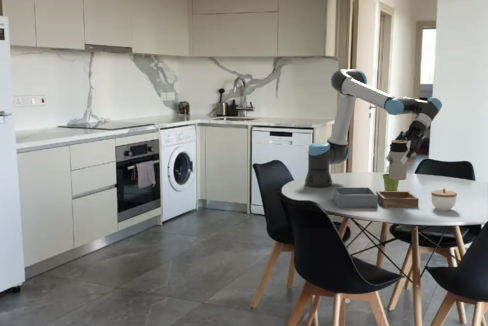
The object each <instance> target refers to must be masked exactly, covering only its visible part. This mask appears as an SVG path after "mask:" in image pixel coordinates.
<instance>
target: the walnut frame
mask: <svg viewBox="0 0 488 326" xmlns="http://www.w3.org/2000/svg"><path fill="white" fill-rule="evenodd" d="M375 193H376V194H377V195H378V204H380V206H381V207H382V208H419V200H420V199H419V197H417V196H416V195H415V194H413V193H411V192H410V191H409V190H408V191H404V190H403V191H402V190H401V191H400V190H399V191H398V190H397V191H385V190H384V191H383V190H380V191H378V190H377V191H375Z"/></svg>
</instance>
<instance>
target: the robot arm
mask: <svg viewBox="0 0 488 326" xmlns="http://www.w3.org/2000/svg"><path fill="white" fill-rule="evenodd" d="M367 82H368V80H367V76H366V74H365V73H364V72H363V71H362V70H360V69H359V70H358V69H339V70H336V71H334V73H333V74H332V76H331V78H330V83H331V87H332V88H333V89H334V90H335V91H336V92H338V94H339V95H340V96H339V100H338V105H337V109H336V113H335V117H334V121H333V125H332V126H333V127H332V130H331V135H330V137H327V139H326V141H319V142H317V141H316V142H313V143H311V144H309V146H308V151H307V153H308V158H307V159H308V160H307V163H308V165H307V166H308V167H307V168H308V169H307V174H306V176H305V179H304V185H305V186H306V187H311V188H328V187H332V186H333V180H332V177H331V172H330V165H339V164H341V163H344V162H345V161H347V160H348V158H349V156H350V148H349V146H348V144H349V143H348V141H347V137H348V132H349V128H350V124H351V121H352V120H351V119H352V116H353V112H354V108H355V104H356V100H357V99H359V100H362V101H364V102H367V103H368V104H371V105H374V106H375V107H377V108H380V109H382V110H385V112H387V114H388V115H391V116H398V115H399V116H400V115H410V114H411V115H416V116H415V118H414V119H413V120H412V122H411V123H410V124H409V127H408V130H407V131H403V130H401V131H400V133H399V134H398V136H396V138H394V140H405V141H408V142H409V141H410V144H409V148H408V150H407V151H406V153H405V154H404V155H403V157H402V158H401V160H400V161H401V162H402V164H405V162H406V161H407V162H408V160H409V159H411V156H412V155H413V154H414V153H415V154H417V153H419V151H420V148H421V146H422V144H423V142H424V141H425V139H427V137H426V135H425V133H426V131H427V129H428V128H429V126H430V125H431V124H432V122H433V121H434V119H435V118H436V116H437V115H438V114H439V113H440V111H441V109H442V107H443V104H442V102H441V100H440V99H438V97H429V98H428V99H427V100H422V99H418V98H413V97H409V96H402V98H398V97H397V96H395V95H394V96H393V95H391V94H389V93H386V92H384V91H382V90H379V89H377V88H374V87H373V86H370V85H368V83H367ZM391 145H392V142H390V144H389V148H390V147H391ZM385 160H387V162H388V163H389V162H390V150H389V152H388V154H387V155H386V157H385Z"/></svg>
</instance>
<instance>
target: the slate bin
mask: <svg viewBox="0 0 488 326" xmlns="http://www.w3.org/2000/svg"><path fill="white" fill-rule="evenodd" d="M332 200H333V202H334V204H335V206H336V207H337V209H378V206H379V205H378V204H379V202H378V195H377V194H376V191H374V190H373V189H372V188H371V187H369V186H363V187H361V186H358V187H355V186H354V187H353V186H352V187H351V186H347V187H345V186H343V187H341V186H338V187H337V186H336V187H335V186H334V187H332Z"/></svg>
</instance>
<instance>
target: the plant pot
mask: <svg viewBox="0 0 488 326" xmlns="http://www.w3.org/2000/svg"><path fill="white" fill-rule="evenodd" d="M381 176H382V178H383V186H384V191H398V186H399V182H400V180H392V179H390V178H389V173H383V174H382V175H381Z"/></svg>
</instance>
